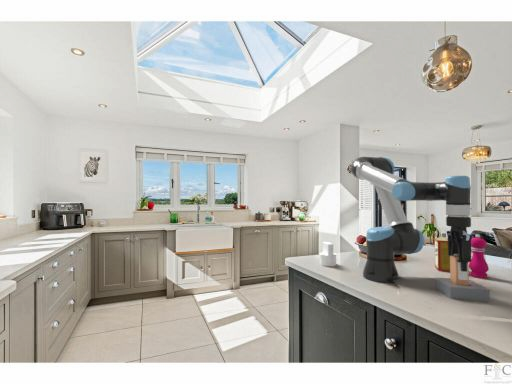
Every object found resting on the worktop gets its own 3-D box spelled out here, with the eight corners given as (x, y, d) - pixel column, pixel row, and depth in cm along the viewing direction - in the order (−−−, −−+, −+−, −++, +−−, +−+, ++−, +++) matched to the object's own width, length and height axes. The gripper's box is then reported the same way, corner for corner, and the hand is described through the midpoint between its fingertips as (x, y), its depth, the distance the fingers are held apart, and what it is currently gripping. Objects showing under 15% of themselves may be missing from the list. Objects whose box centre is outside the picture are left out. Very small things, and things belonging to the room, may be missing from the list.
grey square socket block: (450, 301, 95) (450, 287, 95) (435, 290, 107) (435, 277, 107) (489, 304, 92) (489, 289, 92) (470, 292, 104) (470, 279, 104)
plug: (456, 293, 98) (455, 255, 99) (450, 289, 102) (449, 253, 103) (469, 293, 97) (468, 255, 98) (463, 290, 102) (462, 253, 102)
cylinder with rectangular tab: (317, 262, 153) (317, 241, 154) (332, 262, 154) (332, 241, 155) (323, 266, 144) (323, 244, 145) (339, 266, 145) (338, 244, 146)
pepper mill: (492, 279, 121) (491, 235, 122) (474, 278, 123) (473, 235, 123) (482, 274, 128) (481, 233, 129) (465, 274, 130) (464, 233, 130)
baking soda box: (454, 272, 133) (453, 240, 133) (438, 270, 136) (437, 239, 136) (449, 267, 141) (448, 238, 142) (435, 266, 144) (434, 237, 145)
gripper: (483, 217, 92) (484, 285, 91) (457, 215, 108) (459, 272, 108) (458, 217, 93) (459, 284, 93) (437, 214, 110) (438, 271, 109)
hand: (459, 277), depth 100 cm, fingers closed on plug, 4 cm apart
